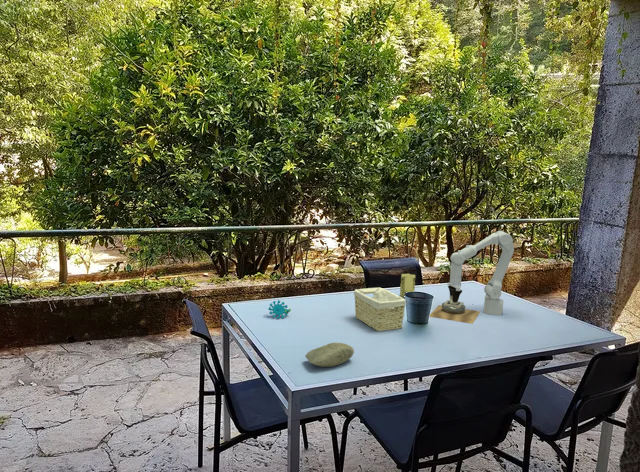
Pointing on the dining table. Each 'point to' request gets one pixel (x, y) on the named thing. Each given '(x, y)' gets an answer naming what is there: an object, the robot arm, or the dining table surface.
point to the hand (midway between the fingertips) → (453, 300)
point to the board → (456, 315)
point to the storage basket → (379, 308)
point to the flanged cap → (452, 301)
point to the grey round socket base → (453, 308)
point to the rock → (330, 354)
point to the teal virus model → (279, 309)
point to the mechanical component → (407, 284)
